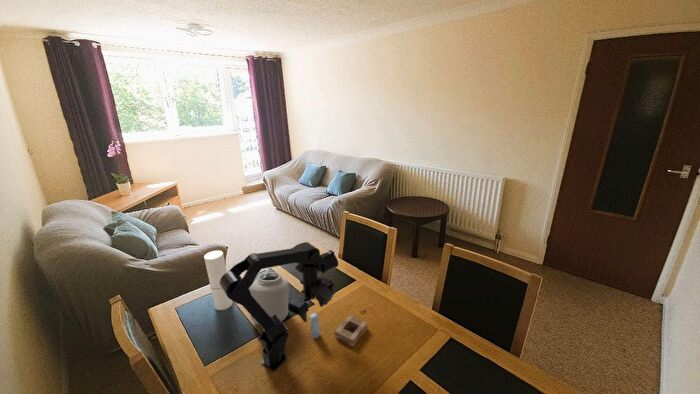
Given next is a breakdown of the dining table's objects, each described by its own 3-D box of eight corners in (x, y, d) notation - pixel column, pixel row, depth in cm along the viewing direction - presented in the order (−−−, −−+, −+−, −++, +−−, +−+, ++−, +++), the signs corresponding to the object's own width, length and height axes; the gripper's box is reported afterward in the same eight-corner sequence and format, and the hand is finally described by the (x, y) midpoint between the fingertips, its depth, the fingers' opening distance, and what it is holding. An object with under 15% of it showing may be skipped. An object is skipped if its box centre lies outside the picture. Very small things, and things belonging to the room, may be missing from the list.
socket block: (353, 346, 101) (353, 340, 100) (335, 337, 105) (334, 331, 105) (367, 328, 109) (367, 322, 108) (349, 320, 113) (349, 314, 112)
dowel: (316, 339, 105) (314, 320, 102) (310, 336, 106) (308, 317, 104) (321, 334, 107) (319, 315, 104) (315, 331, 109) (313, 312, 106)
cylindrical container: (235, 299, 128) (226, 250, 120) (227, 310, 121) (217, 259, 113) (220, 298, 129) (210, 250, 120) (211, 309, 122) (200, 259, 114)
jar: (270, 297, 128) (263, 249, 120) (299, 303, 124) (294, 253, 116) (244, 328, 111) (234, 273, 103) (276, 336, 107) (268, 280, 99)
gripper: (310, 300, 87) (313, 340, 92) (344, 271, 102) (345, 306, 107) (284, 288, 93) (289, 326, 98) (320, 262, 108) (322, 296, 113)
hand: (313, 313), depth 104 cm, fingers open, 9 cm apart
